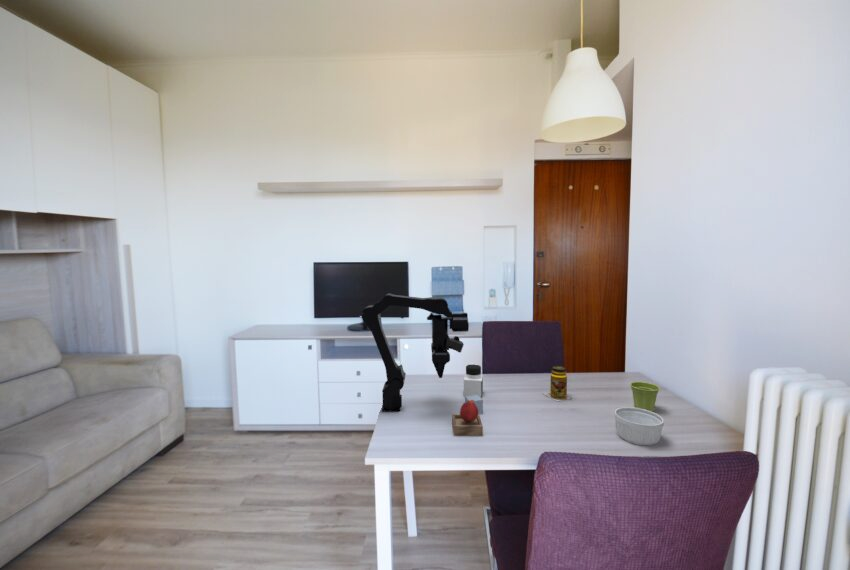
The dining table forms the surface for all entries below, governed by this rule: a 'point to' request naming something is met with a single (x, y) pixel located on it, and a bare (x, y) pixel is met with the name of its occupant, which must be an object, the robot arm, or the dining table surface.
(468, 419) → the onion
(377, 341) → the robot arm
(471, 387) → the medicine bottle
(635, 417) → the ramekin
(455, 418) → the wooden square tray
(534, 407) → the dining table surface
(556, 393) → the condiment
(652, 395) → the plant pot
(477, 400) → the slate cube
